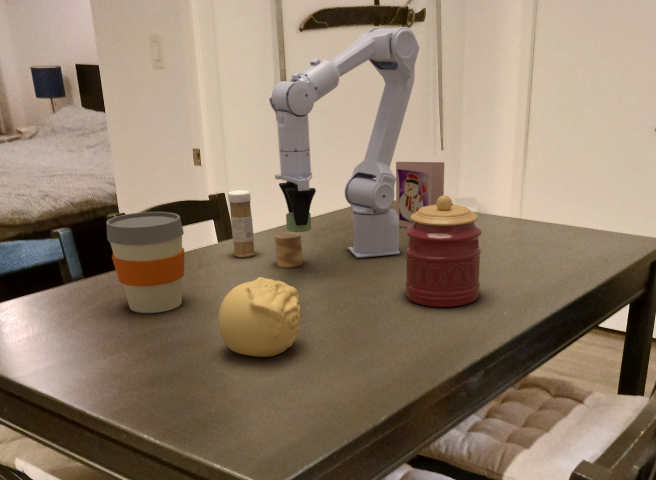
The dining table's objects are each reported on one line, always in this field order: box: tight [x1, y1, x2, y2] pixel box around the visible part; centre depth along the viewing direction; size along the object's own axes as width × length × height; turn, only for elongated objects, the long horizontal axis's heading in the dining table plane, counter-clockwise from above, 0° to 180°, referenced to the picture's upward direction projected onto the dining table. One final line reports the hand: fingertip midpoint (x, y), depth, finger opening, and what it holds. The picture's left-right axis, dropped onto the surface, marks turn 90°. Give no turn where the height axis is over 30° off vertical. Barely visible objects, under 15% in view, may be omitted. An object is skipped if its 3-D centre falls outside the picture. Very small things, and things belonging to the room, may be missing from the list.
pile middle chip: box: [274, 231, 303, 253], centre depth 154 cm, size 5×5×3 cm
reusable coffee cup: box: [106, 211, 185, 314], centre depth 131 cm, size 13×13×15 cm
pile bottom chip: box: [275, 249, 303, 269], centre depth 155 cm, size 5×5×3 cm
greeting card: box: [395, 161, 445, 229], centre depth 180 cm, size 11×7×15 cm, turn 43°
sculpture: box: [217, 276, 301, 358], centre depth 111 cm, size 11×12×11 cm
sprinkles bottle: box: [227, 189, 256, 258], centre depth 160 cm, size 5×5×14 cm
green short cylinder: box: [285, 212, 312, 233], centre depth 148 cm, size 5×5×3 cm
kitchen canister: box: [405, 195, 483, 308], centre depth 131 cm, size 13×13×18 cm
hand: (298, 222), depth 148 cm, fingers closed on green short cylinder, 5 cm apart
